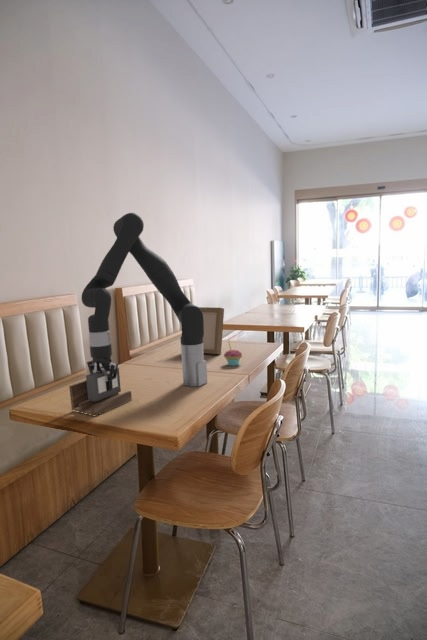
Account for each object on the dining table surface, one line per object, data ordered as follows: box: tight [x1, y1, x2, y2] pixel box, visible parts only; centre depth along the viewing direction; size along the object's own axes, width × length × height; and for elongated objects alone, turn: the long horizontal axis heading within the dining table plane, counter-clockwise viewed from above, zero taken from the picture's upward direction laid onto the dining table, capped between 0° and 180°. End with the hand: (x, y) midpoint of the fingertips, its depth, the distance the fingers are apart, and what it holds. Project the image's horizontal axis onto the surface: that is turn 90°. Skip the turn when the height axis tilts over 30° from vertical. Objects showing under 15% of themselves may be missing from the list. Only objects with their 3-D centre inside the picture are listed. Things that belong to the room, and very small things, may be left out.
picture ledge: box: [68, 379, 133, 416], centre depth 154 cm, size 12×18×10 cm, turn 148°
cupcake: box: [223, 340, 243, 367], centre depth 203 cm, size 9×8×12 cm
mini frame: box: [85, 367, 122, 401], centre depth 153 cm, size 4×12×9 cm, turn 147°
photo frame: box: [198, 306, 225, 355], centre depth 233 cm, size 15×22×25 cm
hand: (104, 389), depth 153 cm, fingers closed on mini frame, 4 cm apart
